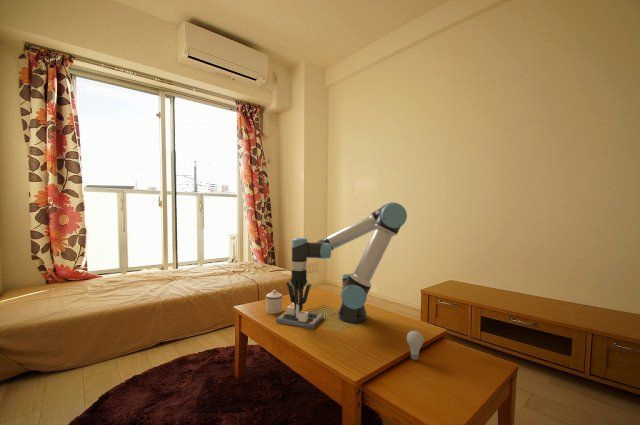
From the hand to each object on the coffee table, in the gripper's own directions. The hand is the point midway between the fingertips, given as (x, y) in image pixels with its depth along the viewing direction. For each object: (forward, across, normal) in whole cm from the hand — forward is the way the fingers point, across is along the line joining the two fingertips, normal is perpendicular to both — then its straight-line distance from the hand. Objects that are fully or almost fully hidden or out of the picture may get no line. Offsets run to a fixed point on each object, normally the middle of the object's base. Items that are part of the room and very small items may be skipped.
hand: (298, 316), depth 138 cm
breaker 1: (+1, +6, -10) cm, 12 cm away
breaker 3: (+1, -3, 0) cm, 3 cm away
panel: (+4, +1, -5) cm, 6 cm away
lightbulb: (+4, -55, +13) cm, 57 cm away
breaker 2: (+1, +6, -5) cm, 8 cm away
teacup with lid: (+4, +21, -11) cm, 24 cm away
